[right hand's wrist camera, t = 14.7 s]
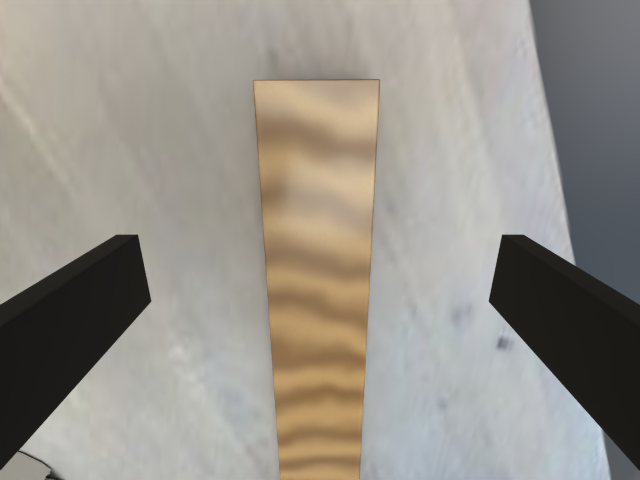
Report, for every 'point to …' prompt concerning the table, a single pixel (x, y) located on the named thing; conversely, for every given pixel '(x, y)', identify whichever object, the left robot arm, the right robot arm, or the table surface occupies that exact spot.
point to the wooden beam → (318, 264)
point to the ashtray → (24, 469)
